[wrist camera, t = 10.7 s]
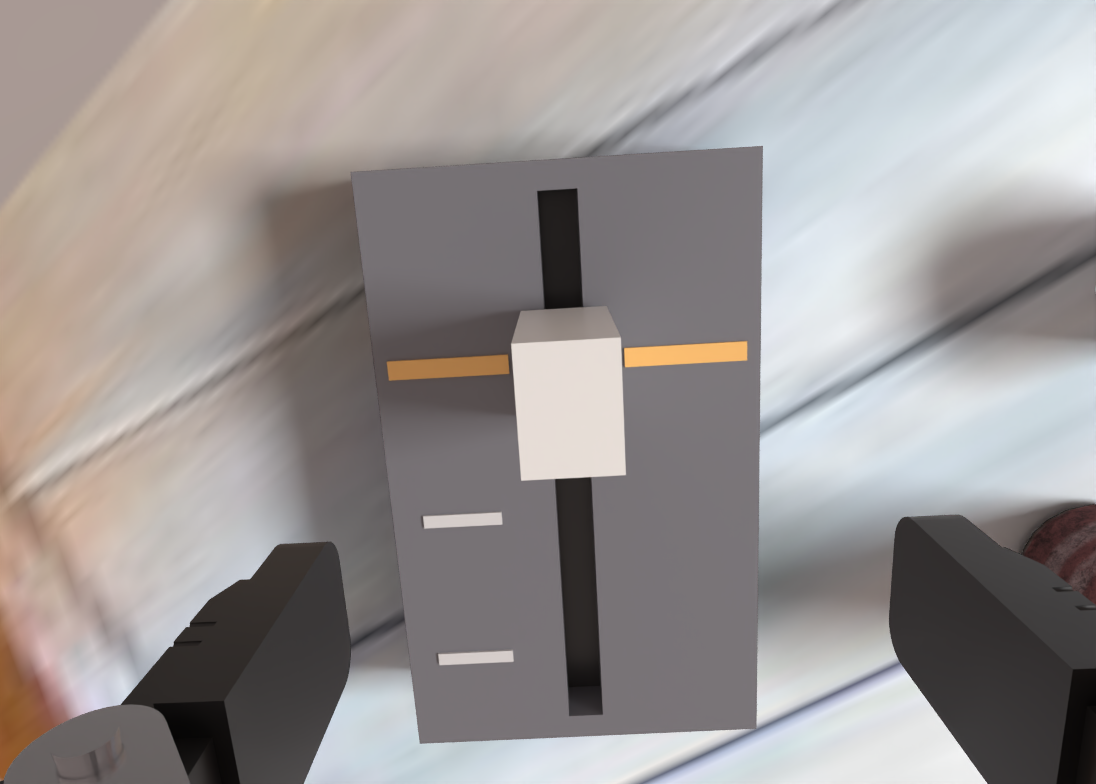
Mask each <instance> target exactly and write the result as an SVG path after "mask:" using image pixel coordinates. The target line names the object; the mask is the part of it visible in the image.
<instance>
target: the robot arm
mask: <svg viewBox="0 0 1096 784" xmlns="http://www.w3.org/2000/svg"><path fill="white" fill-rule="evenodd" d="M889 627H890V634H891V639H892V643H893V647H894V650H895V652H896V655H897V657H898V659H899V661H900V663H901V664H902V666H903V667H904V669H905V670H906V671H907V673H908V674H909V676H910V677H911V678H912V680H913V681H914V683H915V684H916V685H917V687H918V688H919V689H920V691H921V692H922V694H923V695H924V696H925V698H926V699H927V700H928V702H929V703H930V705H931V706H932V707H933V709H934V710H935V712H936V713H937V714H938V716H939V717H940V718H941V720H942V721H943V723H944V724H945V725H946V727H947V728H948V730H949V731H950V732H951V734H952V735H953V736H954V738H955V739H956V741H957V742H958V743H959V745H960V746H961V748H962V749H963V750H964V752H965V753H966V754H967V756H968V757H969V759H970V760H971V761H972V763H973V764H974V766H975V767H976V768H977V770H978V771H979V772H980V774H981V775H982V777H983V778H984V779H985V781H986V782H987V783H988V784H1096V605H1095V604H1094V603H1093V602H1091V601H1090V600H1089V599H1087V598H1086V597H1085V596H1084V595H1082V594H1081V593H1080V592H1078V591H1073V590H1072V586H1071V585H1069V584H1068V583H1067V582H1065V581H1064V580H1063V579H1062V578H1060V577H1059V576H1058V575H1056V574H1055V573H1054V572H1053V571H1051V570H1050V569H1049V568H1047V567H1046V566H1045V565H1043V564H1041V563H1039V562H1036V561H1034V560H1032V559H1030V558H1027V557H1025V556H1023V555H1021V554H1019V553H1016V552H1014V551H1012V550H1010V549H1008V548H1005V547H1004V548H1002V547H1001V546H1000V545H998V544H997V543H996V542H995V541H993V540H992V539H991V538H990V537H988V536H987V535H986V534H985V533H983V532H982V531H981V530H980V529H978V528H977V527H976V526H975V525H974V524H972V523H971V522H970V521H969V520H967V519H966V518H965V517H963V516H961V515H939V516H917V517H904V518H902V519H901V520H900V521H899V523H898V525H897V527H896V531H895V539H894V553H893V568H892V582H891V596H890V610H889ZM350 658H351V642H350V633H349V626H348V619H347V611H346V604H345V597H344V590H343V583H342V575H341V568H340V561H339V556H338V552H337V549H336V547H335V545H334V544H333V543H332V542H316V543H294V544H279V545H277V546H276V547H275V548H274V550H273V551H272V552H271V553H270V555H269V556H268V557H267V559H266V560H265V561H264V562H263V564H262V565H261V566H260V567H259V569H258V570H257V571H256V573H255V574H254V575H253V576H252V578H251V579H248V580H239V581H237V582H236V583H234V584H233V585H231V586H230V587H228V588H227V589H225V590H224V591H222V592H220V593H219V594H217V595H216V596H214V597H213V598H211V599H210V600H209V601H208V602H207V603H206V604H205V605H204V607H203V608H202V609H201V610H200V611H199V612H198V614H197V615H196V616H195V617H194V618H193V620H192V621H191V622H190V627H186V628H185V629H184V630H183V631H182V633H181V634H180V635H179V636H178V637H177V639H176V640H175V641H174V646H173V647H169V648H168V649H167V650H166V652H165V653H164V654H163V655H162V656H161V657H160V659H159V660H158V661H157V662H156V663H155V665H154V666H153V667H152V668H151V669H150V671H149V672H148V673H147V674H146V675H145V676H144V678H143V679H142V680H141V681H140V682H139V684H138V685H137V686H136V687H135V688H134V689H133V691H132V692H131V693H130V694H129V695H128V697H127V698H126V699H125V700H124V701H123V703H122V704H121V705H118V706H112V707H106V708H102V709H98V710H94V711H91V712H88V713H85V714H82V715H80V716H77V717H75V718H73V719H70V720H68V721H66V722H64V723H62V724H60V725H58V726H56V727H54V728H53V729H51V730H49V731H48V732H46V733H45V734H43V735H42V736H40V737H39V738H37V739H36V740H35V741H33V742H32V743H31V744H30V745H29V746H27V747H26V748H25V749H24V750H23V751H22V752H21V753H20V754H19V755H18V756H17V757H16V759H15V760H14V761H13V762H12V764H11V765H10V767H9V768H8V770H7V773H6V775H5V778H4V780H3V781H0V784H304V781H305V779H306V777H307V774H308V772H309V770H310V767H311V765H312V763H313V760H314V758H315V755H316V753H317V751H318V748H319V746H320V744H321V741H322V739H323V737H324V734H325V732H326V730H327V727H328V725H329V723H330V720H331V718H332V716H333V713H334V711H335V708H336V706H337V704H338V701H339V699H340V697H341V694H342V692H343V690H344V687H345V685H346V682H347V678H348V674H349V668H350Z"/></svg>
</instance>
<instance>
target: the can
mask: <svg viewBox="0 0 1096 784" xmlns="http://www.w3.org/2000/svg"><path fill="white" fill-rule="evenodd" d="M1022 555H1023V556H1025V557H1027V558H1030V559H1032V560H1034V561H1036V562H1039V563H1041V564H1043V565H1045V566H1046V567H1047V568H1049V569H1050V570H1051V571H1053V572H1054V573H1055V574H1056V575H1058V576H1059V577H1060V578H1062V579H1063V580H1064V581H1065V582H1067V583H1068V584H1069V585H1071V586H1072V590H1073V591H1078V592H1080V593H1081V594H1082V595H1084V596H1085V597H1086V598H1087V599H1089V600H1090V601H1091V602H1093V603H1094V604H1095V605H1096V504H1093V505H1088V506H1083V507H1079V508H1075V509H1070V510H1066V511H1064V512H1062V513H1060V514H1058V515H1056V516H1054V517H1053V518H1051V519H1049V520H1047V521H1046V522H1045V523H1044V524H1043V525H1042V526H1041V527H1040V528H1039V529H1038V530H1036V531H1035V532H1034V533H1033V535H1032V536H1031V538H1030V540H1029V541H1028V543H1027V545H1026V546H1025V548H1024V550H1023V554H1022Z"/></svg>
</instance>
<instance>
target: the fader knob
mask: <svg viewBox="0 0 1096 784" xmlns="http://www.w3.org/2000/svg"><path fill="white" fill-rule="evenodd" d="M511 349H512V362H513V376H514V389H515V403H516V417H517V430H518V444H519V457H520V471H521V481H525V480H544V479H563V478H582V477H601V476H620V475H626V464H625V437H624V409H623V381H622V354H621V337H620V334H619V332H618V330H617V328H616V326H615V323H614V321H613V319H612V317H611V315H610V312H609V310H608V308H607V306H596V307H579V308H562V309H545V310H528V311H521V312H520V315H519V319H518V322H517V326H516V329H515V332H514V336H513V339H512V343H511Z"/></svg>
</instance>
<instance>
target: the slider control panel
mask: <svg viewBox="0 0 1096 784" xmlns="http://www.w3.org/2000/svg"><path fill="white" fill-rule="evenodd" d="M762 168H763V146H755V147H739V148H723V149H708V150H692V151H676V152H660V153H644V154H629V155H613V156H597V157H581V158H565V159H550V160H534V161H518V162H502V163H486V164H471V165H455V166H439V167H423V168H407V169H392V170H376V171H360V172H351V179H352V187H353V195H354V203H355V212H356V220H357V228H358V236H359V245H360V253H361V261H362V269H363V278H364V286H365V294H366V302H367V311H368V319H369V327H370V336H371V344H372V352H373V360H374V369H375V377H376V385H377V393H378V402H379V410H380V418H381V426H382V435H383V443H384V451H385V459H386V468H387V476H388V484H389V492H390V501H391V509H392V517H393V526H394V534H395V542H396V550H397V559H398V567H399V575H400V583H401V592H402V600H403V608H404V616H405V625H406V633H407V641H408V649H409V658H410V666H411V674H412V682H413V691H414V699H415V707H416V715H417V724H418V732H419V740H420V744H422V743H444V742H467V741H489V740H512V739H534V738H557V737H579V736H601V735H624V734H646V733H669V732H691V731H714V730H736V729H756V714H757V623H758V532H759V441H760V350H761V259H762ZM596 306H607V308H608V310H609V312H610V315H611V317H612V319H613V321H614V323H615V326H616V328H617V330H618V332H619V334H620V337H621V354H622V381H623V409H624V437H625V464H626V475H620V476H601V477H582V478H563V479H544V480H525V481H521V471H520V457H519V444H518V430H517V417H516V403H515V389H514V376H513V362H512V349H511V343H512V339H513V336H514V332H515V329H516V326H517V322H518V319H519V315H520V312H521V311H528V310H545V309H562V308H579V307H596Z"/></svg>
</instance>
